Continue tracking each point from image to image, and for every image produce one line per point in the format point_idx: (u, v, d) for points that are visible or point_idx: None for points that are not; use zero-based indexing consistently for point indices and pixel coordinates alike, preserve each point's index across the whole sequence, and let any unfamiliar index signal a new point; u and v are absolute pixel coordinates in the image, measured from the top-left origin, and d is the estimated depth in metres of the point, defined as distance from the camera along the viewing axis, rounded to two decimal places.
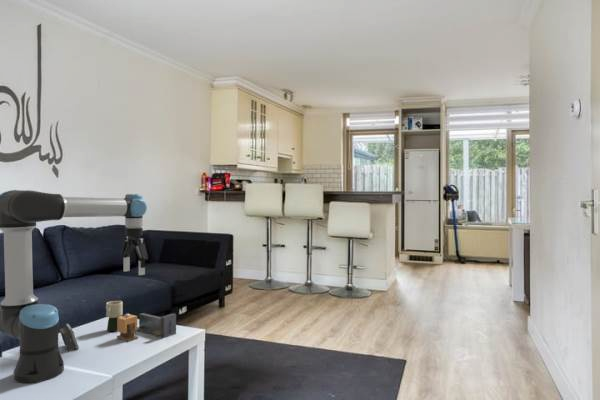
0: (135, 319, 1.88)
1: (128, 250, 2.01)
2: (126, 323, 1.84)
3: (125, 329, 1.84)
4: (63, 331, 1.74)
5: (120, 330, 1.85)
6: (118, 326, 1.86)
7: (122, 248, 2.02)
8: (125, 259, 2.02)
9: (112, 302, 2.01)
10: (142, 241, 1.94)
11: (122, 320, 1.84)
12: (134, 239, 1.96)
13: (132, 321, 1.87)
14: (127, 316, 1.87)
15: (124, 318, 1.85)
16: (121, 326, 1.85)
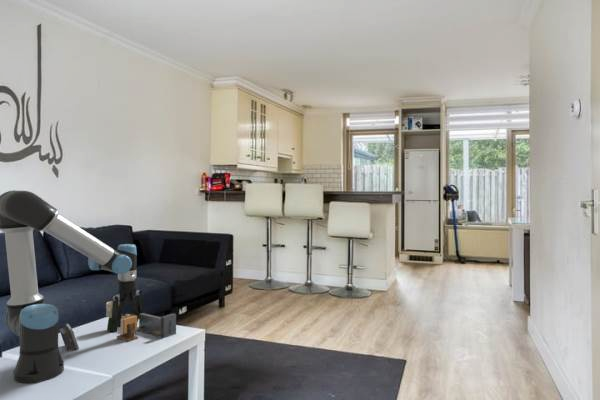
0: (135, 319, 1.88)
1: (131, 305, 1.90)
2: (126, 323, 1.84)
3: (125, 329, 1.84)
4: (63, 331, 1.74)
5: None
6: None
7: None
8: None
9: (112, 302, 2.01)
10: (114, 299, 1.82)
11: None
12: None
13: (132, 321, 1.87)
14: (127, 316, 1.87)
15: (124, 318, 1.85)
16: None
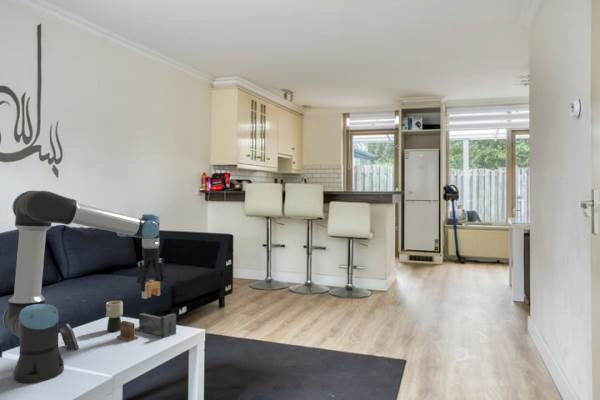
0: (158, 285, 1.99)
1: (154, 272, 2.00)
2: (150, 288, 1.95)
3: (149, 293, 1.95)
4: (63, 331, 1.74)
5: None
6: None
7: None
8: None
9: (112, 302, 2.01)
10: (139, 265, 1.92)
11: None
12: None
13: (155, 286, 1.97)
14: (151, 282, 1.97)
15: (148, 283, 1.96)
16: None
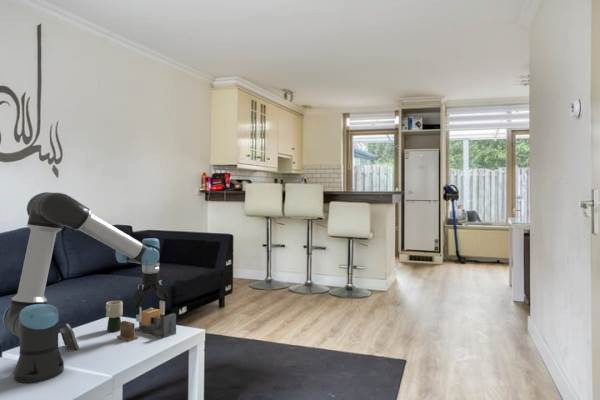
0: (158, 312, 1.99)
1: (157, 294, 2.02)
2: (150, 316, 1.95)
3: (149, 322, 1.95)
4: (63, 331, 1.74)
5: (144, 323, 1.96)
6: (142, 319, 1.96)
7: None
8: (160, 302, 2.04)
9: (112, 302, 2.01)
10: (139, 287, 1.92)
11: (146, 313, 1.95)
12: None
13: (155, 314, 1.98)
14: (150, 310, 1.97)
15: (148, 311, 1.96)
16: (145, 319, 1.95)
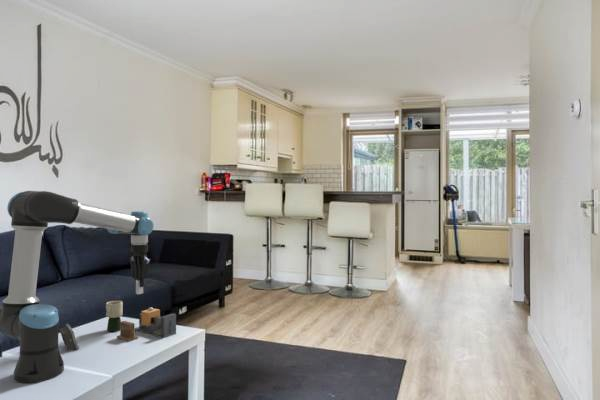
0: (158, 312, 1.99)
1: (137, 269, 2.02)
2: (150, 316, 1.95)
3: (149, 322, 1.95)
4: (63, 331, 1.74)
5: (144, 323, 1.96)
6: (142, 319, 1.96)
7: (131, 270, 2.03)
8: None
9: (112, 302, 2.01)
10: (148, 262, 2.00)
11: (146, 313, 1.95)
12: (141, 255, 2.00)
13: (155, 314, 1.98)
14: (150, 310, 1.97)
15: (148, 311, 1.96)
16: (145, 319, 1.95)
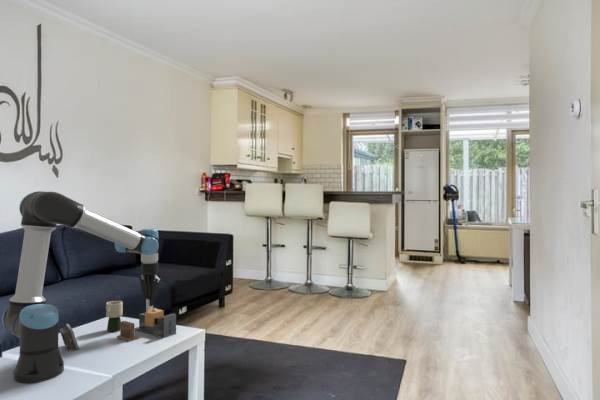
0: (162, 313, 1.98)
1: (148, 288, 1.99)
2: (154, 317, 1.94)
3: (153, 323, 1.93)
4: (63, 331, 1.74)
5: (148, 324, 1.94)
6: (146, 320, 1.95)
7: (141, 288, 2.00)
8: None
9: (112, 302, 2.01)
10: (159, 281, 1.96)
11: (150, 314, 1.94)
12: (151, 274, 1.96)
13: (159, 315, 1.96)
14: (154, 310, 1.96)
15: (151, 312, 1.95)
16: (148, 320, 1.94)
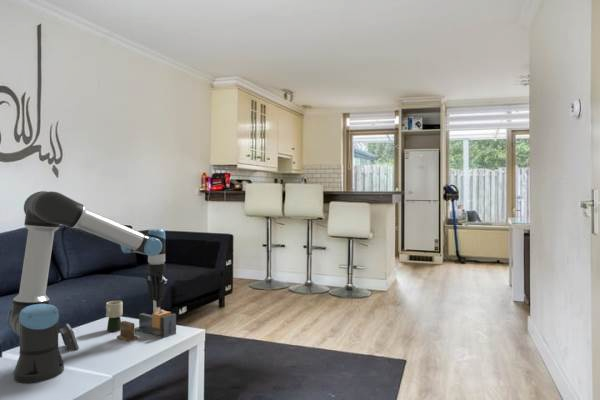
0: None
1: (155, 289, 1.96)
2: None
3: (160, 324, 1.91)
4: (63, 331, 1.74)
5: (155, 325, 1.92)
6: (153, 321, 1.93)
7: (148, 290, 1.97)
8: None
9: (112, 302, 2.01)
10: (166, 282, 1.93)
11: (157, 316, 1.91)
12: (159, 275, 1.93)
13: None
14: (161, 312, 1.94)
15: (159, 314, 1.92)
16: (156, 322, 1.92)
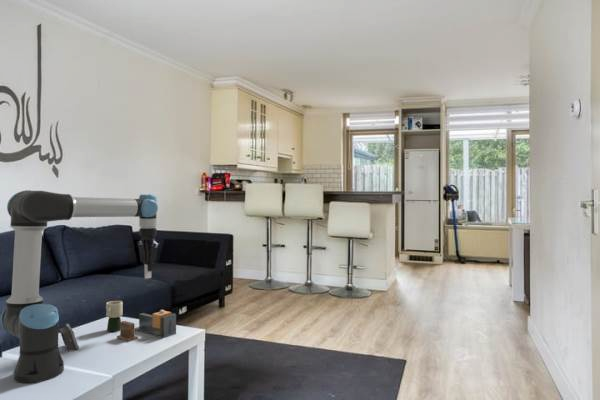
0: None
1: (146, 253, 1.99)
2: None
3: (160, 324, 1.91)
4: (63, 331, 1.74)
5: (155, 325, 1.92)
6: (153, 322, 1.92)
7: (140, 254, 2.00)
8: None
9: (112, 302, 2.01)
10: (157, 246, 1.96)
11: (157, 316, 1.91)
12: (150, 239, 1.96)
13: None
14: (162, 312, 1.93)
15: (159, 314, 1.92)
16: (156, 322, 1.91)
